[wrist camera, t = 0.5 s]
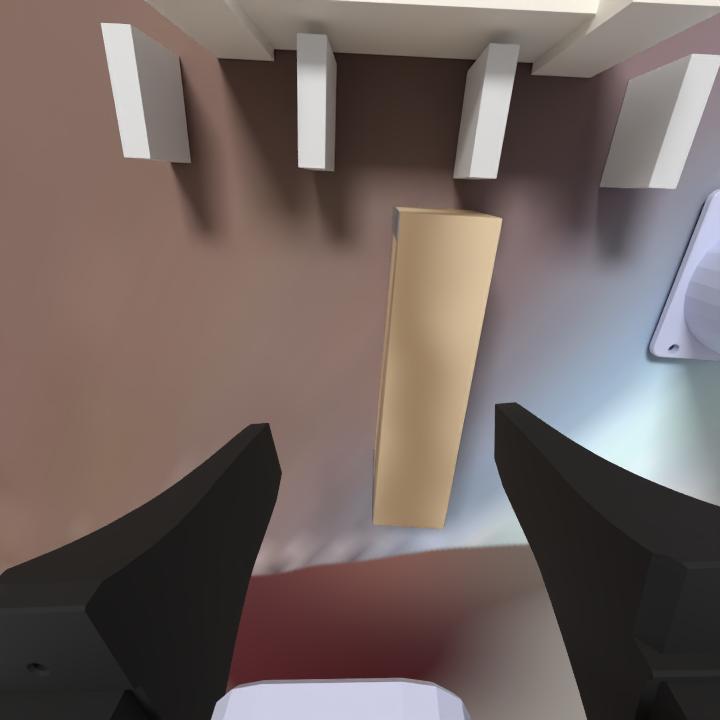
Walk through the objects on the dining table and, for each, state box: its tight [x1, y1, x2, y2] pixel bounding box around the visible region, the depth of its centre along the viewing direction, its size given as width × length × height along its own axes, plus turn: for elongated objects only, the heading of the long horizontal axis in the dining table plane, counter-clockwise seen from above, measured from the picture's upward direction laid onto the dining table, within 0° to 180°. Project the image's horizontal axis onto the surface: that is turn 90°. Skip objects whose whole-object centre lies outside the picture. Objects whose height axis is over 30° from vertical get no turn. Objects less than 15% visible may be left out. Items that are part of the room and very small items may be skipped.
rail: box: [372, 206, 503, 529], centre depth 19 cm, size 4×15×5 cm, turn 177°
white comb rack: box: [101, 0, 720, 189], centre depth 13 cm, size 21×6×7 cm, turn 87°
